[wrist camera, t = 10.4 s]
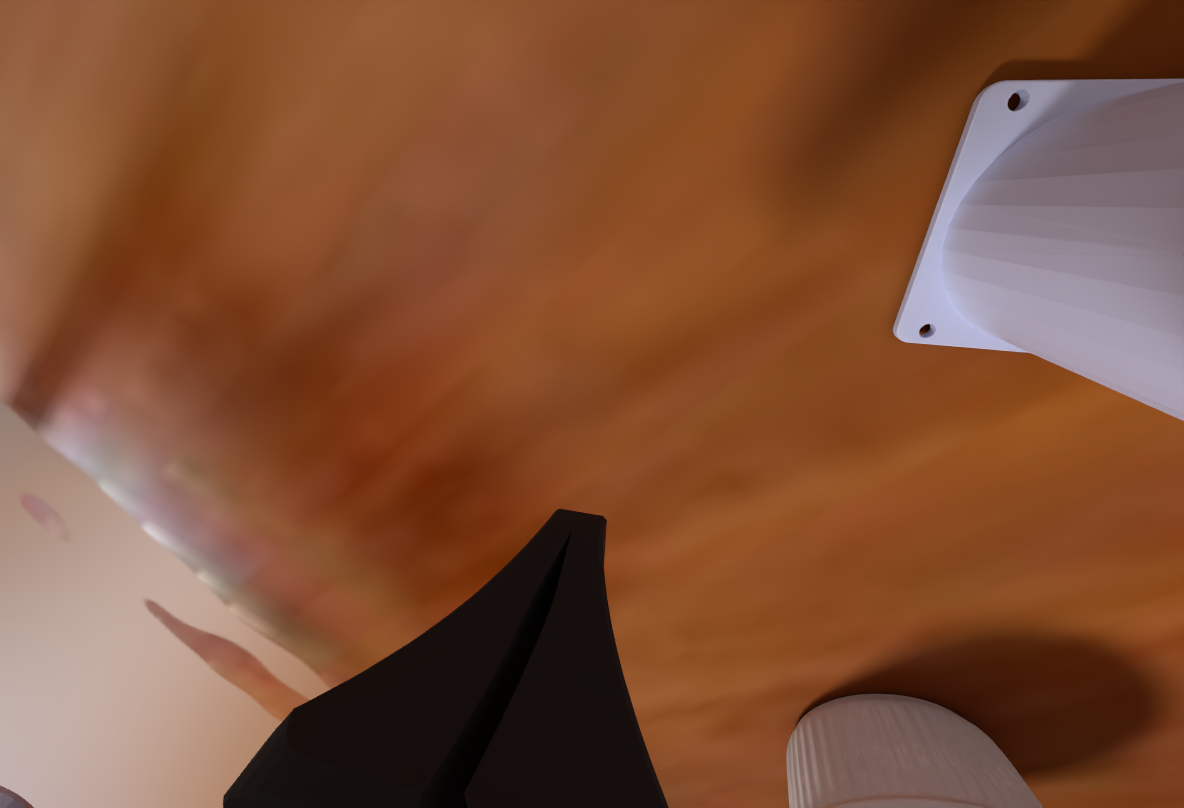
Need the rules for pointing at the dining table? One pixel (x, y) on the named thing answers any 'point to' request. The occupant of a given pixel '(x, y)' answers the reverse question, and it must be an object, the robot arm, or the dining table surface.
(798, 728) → the ramekin
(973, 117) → the robot arm
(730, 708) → the dining table surface
